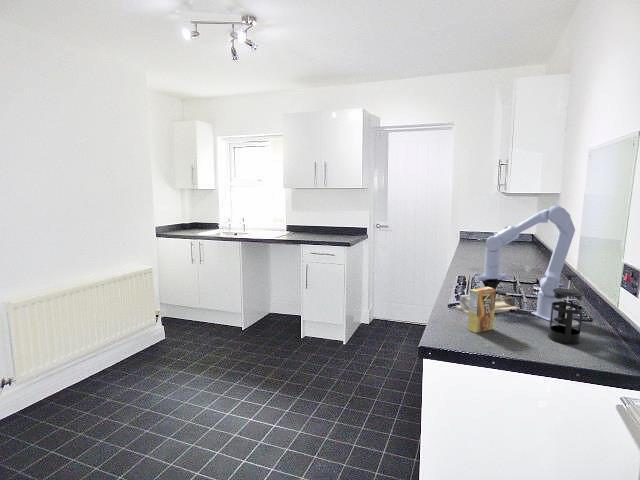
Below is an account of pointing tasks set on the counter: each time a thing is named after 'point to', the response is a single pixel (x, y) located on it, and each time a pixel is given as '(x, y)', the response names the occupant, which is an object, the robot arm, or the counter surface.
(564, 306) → the french press
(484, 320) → the candy box
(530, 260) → the counter surface
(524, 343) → the counter surface
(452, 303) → the counter surface
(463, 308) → the cord rig
